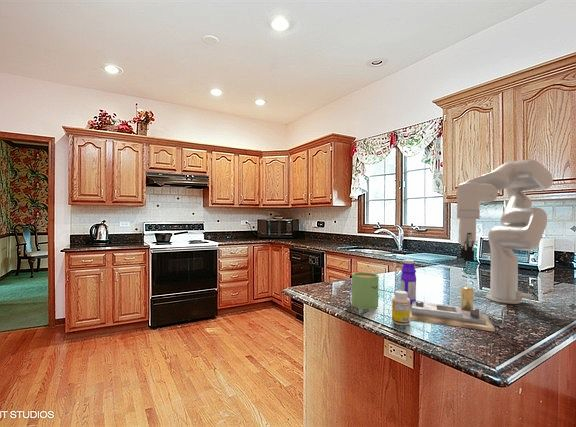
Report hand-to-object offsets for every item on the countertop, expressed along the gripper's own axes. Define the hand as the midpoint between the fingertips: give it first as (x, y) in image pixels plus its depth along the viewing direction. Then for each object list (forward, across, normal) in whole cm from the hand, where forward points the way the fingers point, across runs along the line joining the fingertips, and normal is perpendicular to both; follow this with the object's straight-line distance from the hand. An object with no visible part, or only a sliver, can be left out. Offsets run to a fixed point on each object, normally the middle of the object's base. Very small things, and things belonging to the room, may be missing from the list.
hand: (467, 259), depth 118 cm
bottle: (+19, +1, -21) cm, 28 cm away
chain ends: (+19, +16, -8) cm, 26 cm away
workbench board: (+19, +16, -8) cm, 26 cm away
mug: (+20, +12, -36) cm, 42 cm away
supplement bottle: (+20, +28, -22) cm, 40 cm away
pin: (+19, 0, 0) cm, 19 cm away
